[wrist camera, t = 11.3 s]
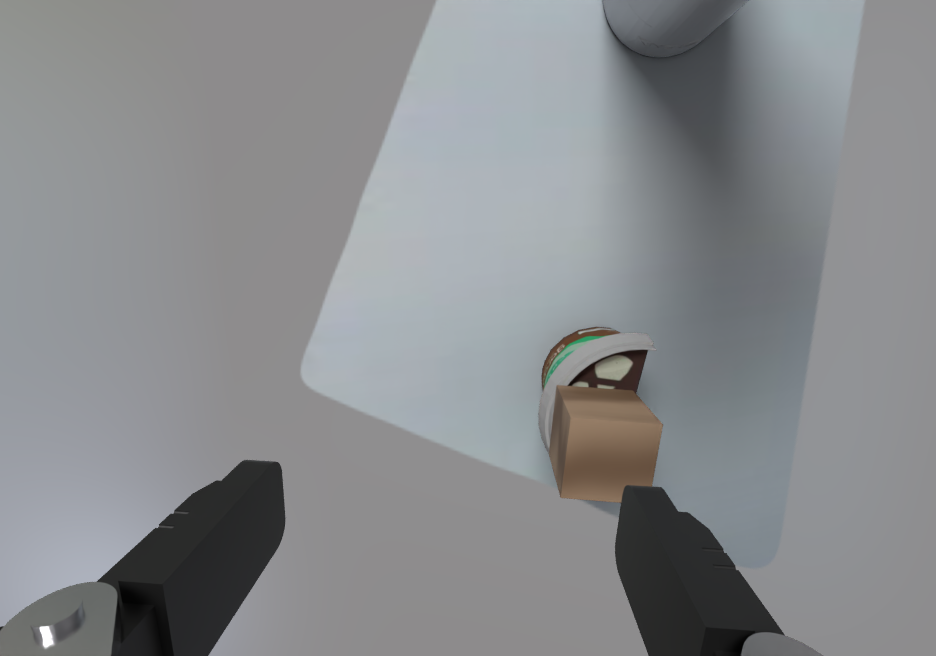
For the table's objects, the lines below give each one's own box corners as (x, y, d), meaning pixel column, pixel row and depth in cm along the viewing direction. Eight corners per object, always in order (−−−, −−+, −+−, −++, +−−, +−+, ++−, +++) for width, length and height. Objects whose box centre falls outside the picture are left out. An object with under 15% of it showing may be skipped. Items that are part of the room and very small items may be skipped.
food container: (543, 299, 37) (563, 325, 28) (614, 311, 37) (658, 341, 28) (516, 428, 40) (525, 492, 30) (581, 439, 40) (611, 507, 30)
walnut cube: (556, 385, 28) (570, 417, 24) (632, 390, 28) (662, 424, 23) (548, 453, 30) (560, 497, 25) (621, 458, 30) (648, 504, 25)
